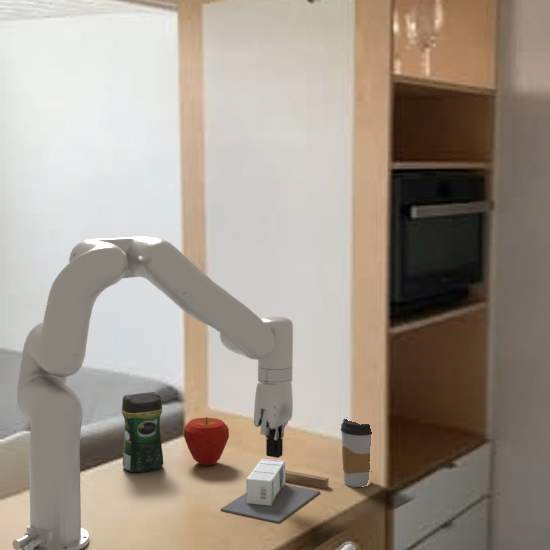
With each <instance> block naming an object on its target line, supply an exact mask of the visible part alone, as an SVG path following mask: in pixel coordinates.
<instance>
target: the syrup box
mask: <svg viewBox="0 0 550 550" xmlns="http://www.w3.org/2000/svg"><path fill="white" fill-rule="evenodd" d="M285 470H286V460H282V459H280V460H279V459H268V458H261V460H260V461H259V462H258V463H257V464H256V466H255V468H254V469H253V470H252V471H251V473H250V474H249V475H248V476H247V478H246V493H247V503H249V504H259V505H270V506H272V504H273V503H274V501H275V499H276V498H277V496H278V495H279V493H280V492H281V490H282V488H283V487H284V485H285V484H286V481H285Z"/></svg>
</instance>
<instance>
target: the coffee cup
mask: <svg viewBox="0 0 550 550" xmlns="http://www.w3.org/2000/svg"><path fill="white" fill-rule="evenodd" d="M340 425H341V428H340V432H341V445H342V447H341V453H342V455H341V456H342V457H341V458H342V470H343V482H344V484H345V486H347V487H349V488H350V487H351V488H355V487H362V486H365V485H367V483H368V480H369V472H370V471H369V470H370V463H369V462H370V446H371V434H372V432H371V429H370V425H369V424H361V425H360V424H358V423H356V422H352V421H348V420H347V419H345V418H343V419H342V423H341V424H340Z"/></svg>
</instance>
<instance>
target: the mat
mask: <svg viewBox="0 0 550 550" xmlns="http://www.w3.org/2000/svg"><path fill="white" fill-rule="evenodd" d="M320 493H321V491H320V490H315V489H310V488H306V487H300V486H296V485H290V484H286V483H285V485H284V487H283V488H282V490H281V492H280V493H279V495H278V496H277V498H276V499H275V501H274V503H273V504H272V506H270V505H259V504H249V503H247V492H245V493H244V494H242V495H240V496H239V497H237V498H236V499H234V500H232V501H231V502H229V503H228V504H226V505H224V506H223V507H221V508H220V512H221V511H223V512H225V511H226V512H227V513H231V514H234V513H236V514H235V515H239V516H240V515H241V516H243V515H244V517H247V518H248V517H249V518H253V519H258V520H262V521H267V522H270V523H276V524H280V523H281V522H283V521H284V520H285V519H287V518H288V517H290V515H292V514H294V513H295V512H296V511H297V510H299V509H300V508H301V507H303V506H304V505H305V504H307V503H309V501H311V500H312V499H314V498H315V497H316V496H318V495H319V494H320Z"/></svg>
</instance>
